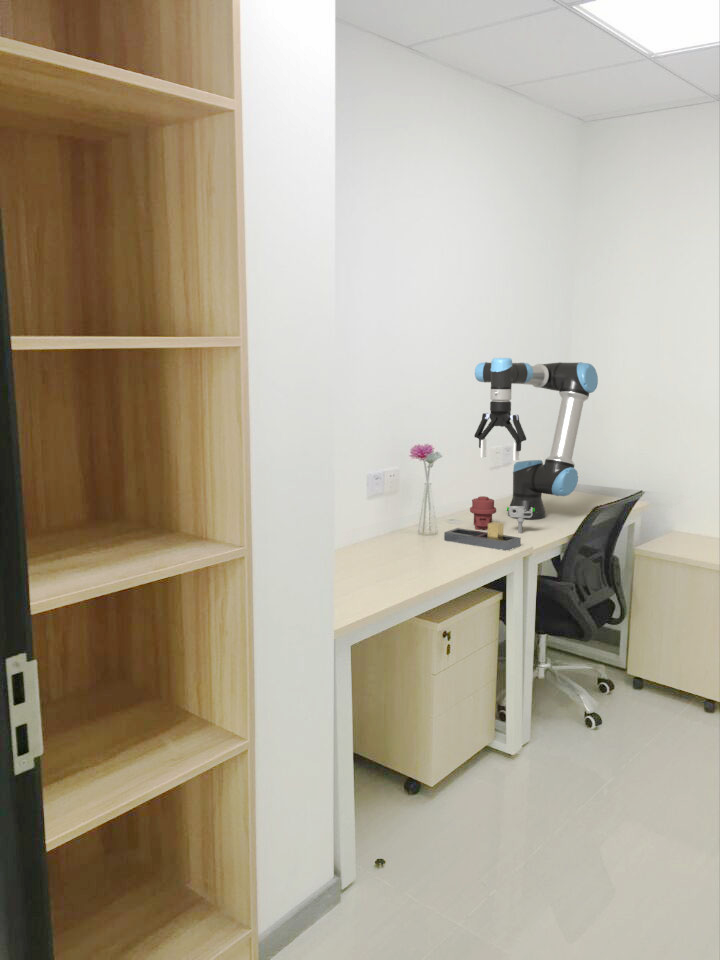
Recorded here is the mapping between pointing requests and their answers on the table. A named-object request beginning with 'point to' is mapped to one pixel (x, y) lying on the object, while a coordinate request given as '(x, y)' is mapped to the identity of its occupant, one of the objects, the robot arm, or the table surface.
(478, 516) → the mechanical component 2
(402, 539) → the table surface
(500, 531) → the brushed brass bar
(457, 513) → the table surface
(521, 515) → the mechanical component
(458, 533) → the rack frame
